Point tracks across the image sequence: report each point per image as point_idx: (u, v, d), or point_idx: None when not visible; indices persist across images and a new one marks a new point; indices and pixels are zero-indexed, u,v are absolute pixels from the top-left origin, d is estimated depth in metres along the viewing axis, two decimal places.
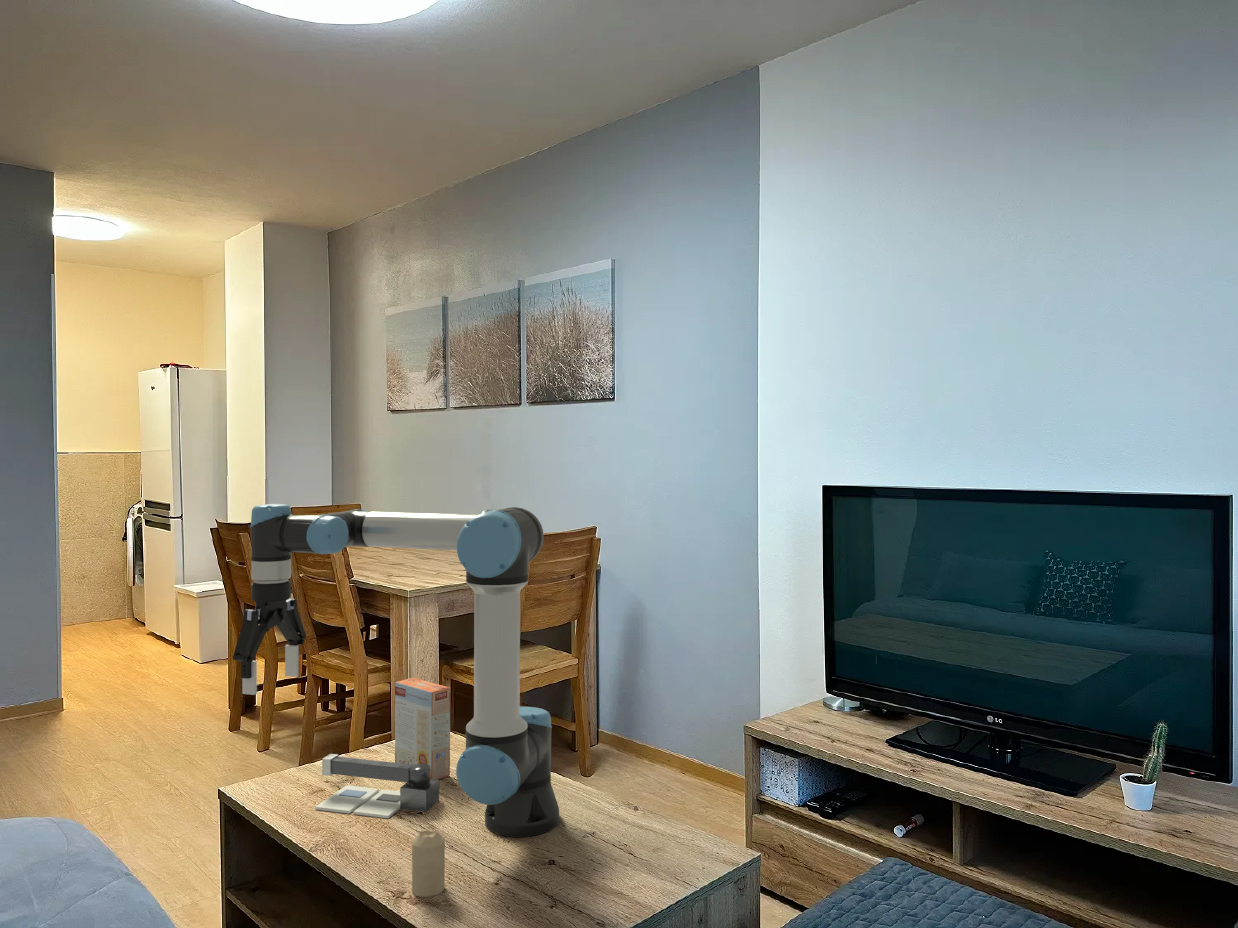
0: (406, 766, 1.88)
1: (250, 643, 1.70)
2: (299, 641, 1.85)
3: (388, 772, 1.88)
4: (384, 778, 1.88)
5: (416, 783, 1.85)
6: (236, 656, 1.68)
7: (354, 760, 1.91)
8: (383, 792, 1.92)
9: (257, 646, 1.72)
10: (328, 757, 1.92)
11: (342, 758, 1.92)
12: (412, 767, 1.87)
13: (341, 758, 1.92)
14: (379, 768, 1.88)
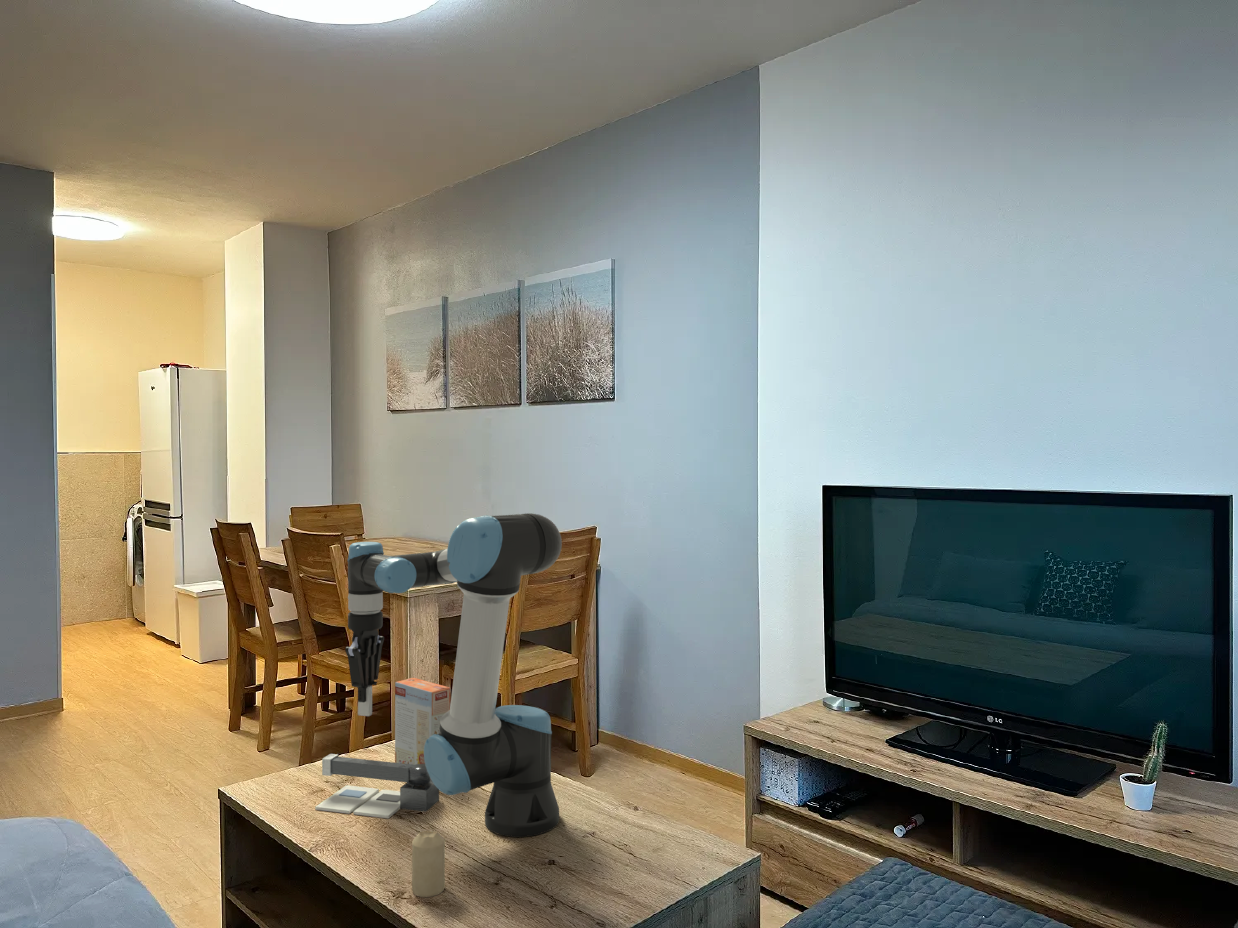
0: (406, 766, 1.88)
1: (361, 672, 1.94)
2: (373, 681, 1.99)
3: (388, 772, 1.88)
4: (384, 778, 1.88)
5: (416, 783, 1.85)
6: (354, 683, 1.95)
7: (354, 760, 1.91)
8: (383, 792, 1.92)
9: (367, 673, 1.96)
10: (328, 757, 1.92)
11: (342, 758, 1.92)
12: (412, 767, 1.87)
13: (341, 758, 1.92)
14: (379, 768, 1.88)
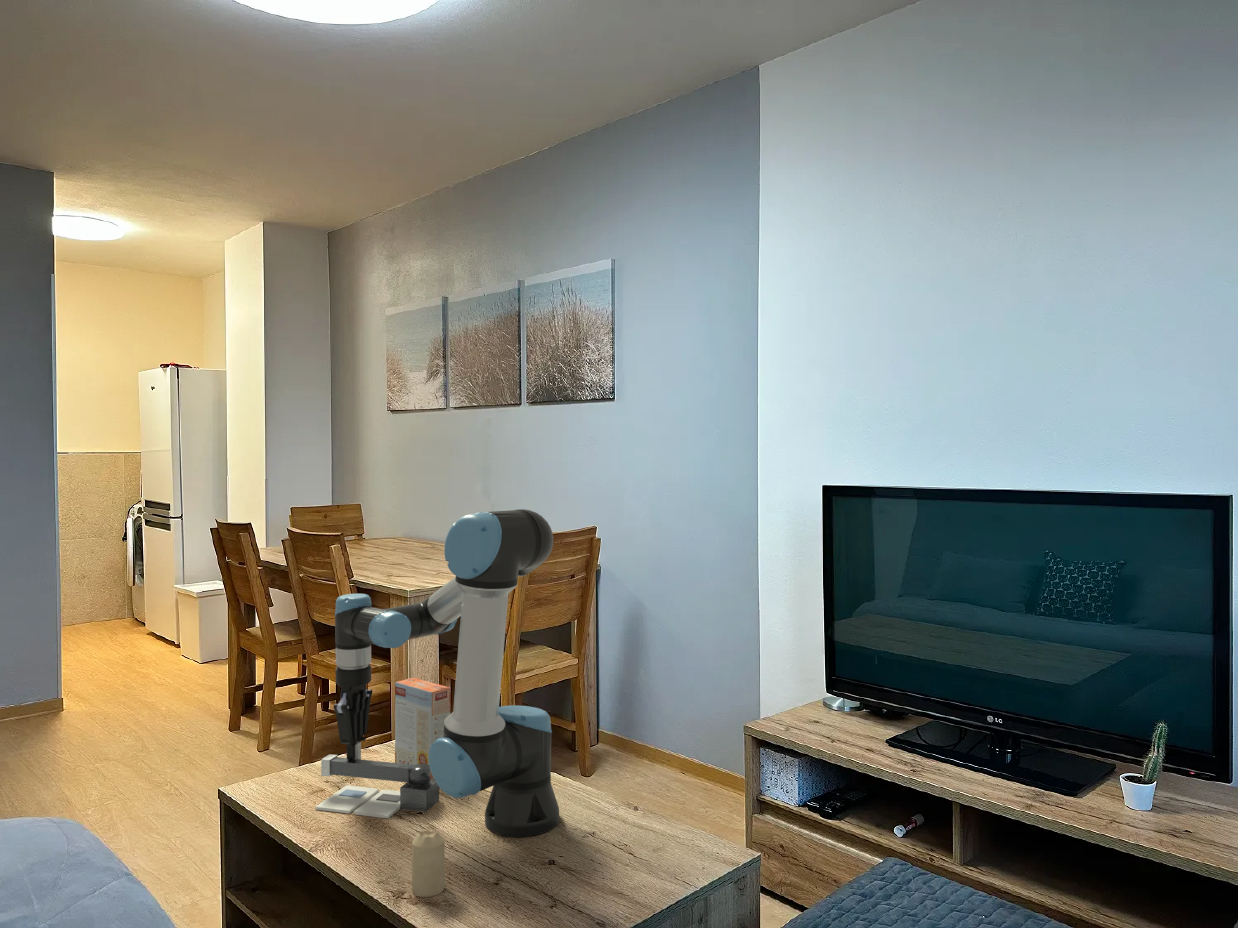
0: (406, 766, 1.87)
1: (350, 729, 1.89)
2: (361, 737, 1.94)
3: (388, 772, 1.88)
4: (384, 778, 1.88)
5: (416, 783, 1.85)
6: (343, 740, 1.89)
7: (353, 761, 1.90)
8: (383, 792, 1.92)
9: (356, 729, 1.91)
10: (327, 758, 1.91)
11: (341, 759, 1.92)
12: (412, 767, 1.87)
13: (340, 759, 1.92)
14: (379, 768, 1.88)
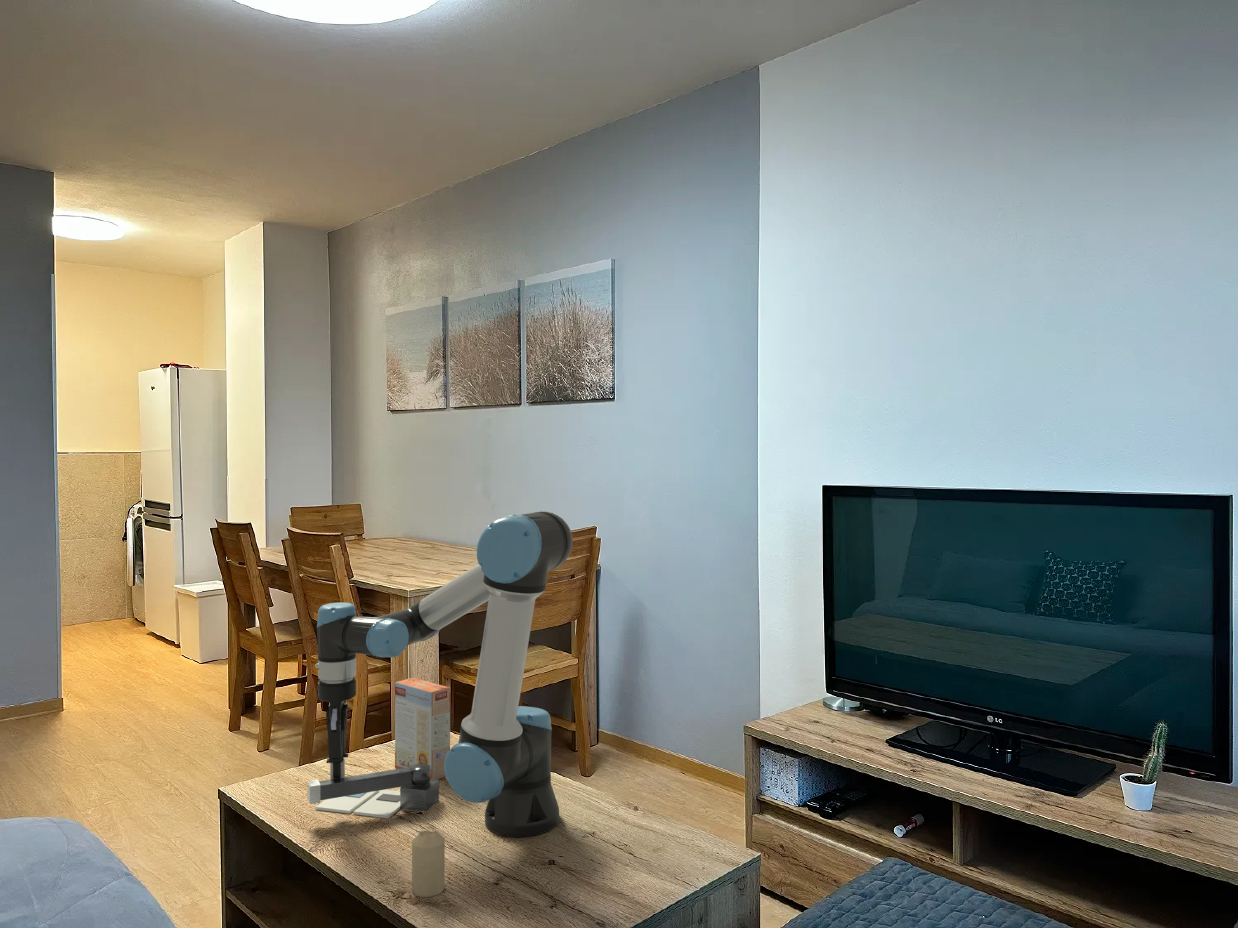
0: (406, 770, 1.86)
1: (341, 746, 1.78)
2: (344, 754, 1.83)
3: (389, 780, 1.83)
4: (384, 788, 1.83)
5: (423, 782, 1.85)
6: (333, 758, 1.78)
7: (345, 779, 1.80)
8: (383, 792, 1.92)
9: (342, 745, 1.81)
10: (313, 784, 1.77)
11: (327, 781, 1.79)
12: (413, 769, 1.86)
13: (327, 781, 1.79)
14: (379, 779, 1.82)
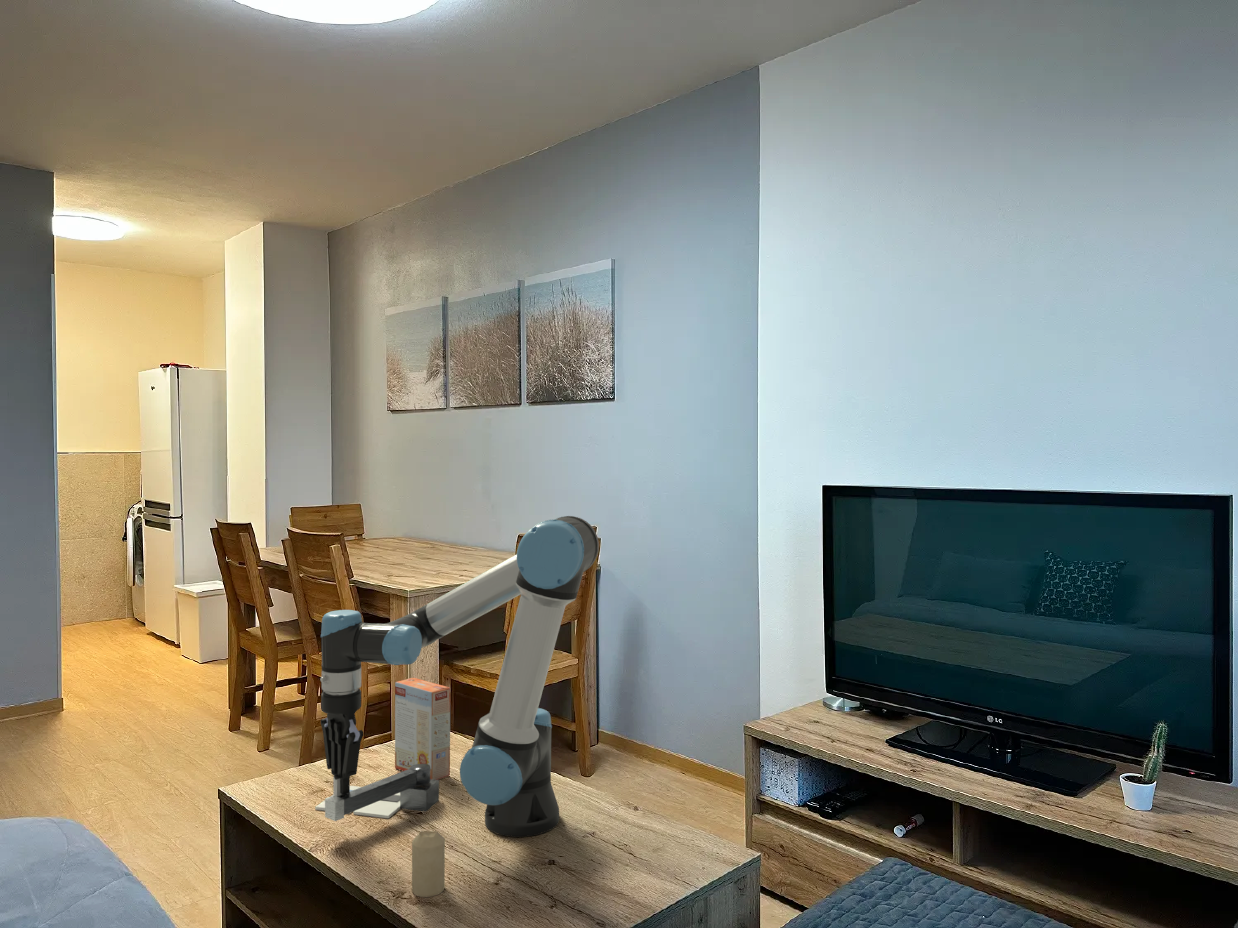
0: (410, 771, 1.85)
1: None
2: None
3: (399, 784, 1.81)
4: (395, 792, 1.80)
5: (427, 781, 1.86)
6: (348, 772, 1.71)
7: (361, 790, 1.74)
8: None
9: None
10: (336, 799, 1.69)
11: (345, 795, 1.72)
12: (415, 770, 1.86)
13: (345, 795, 1.72)
14: (390, 784, 1.79)
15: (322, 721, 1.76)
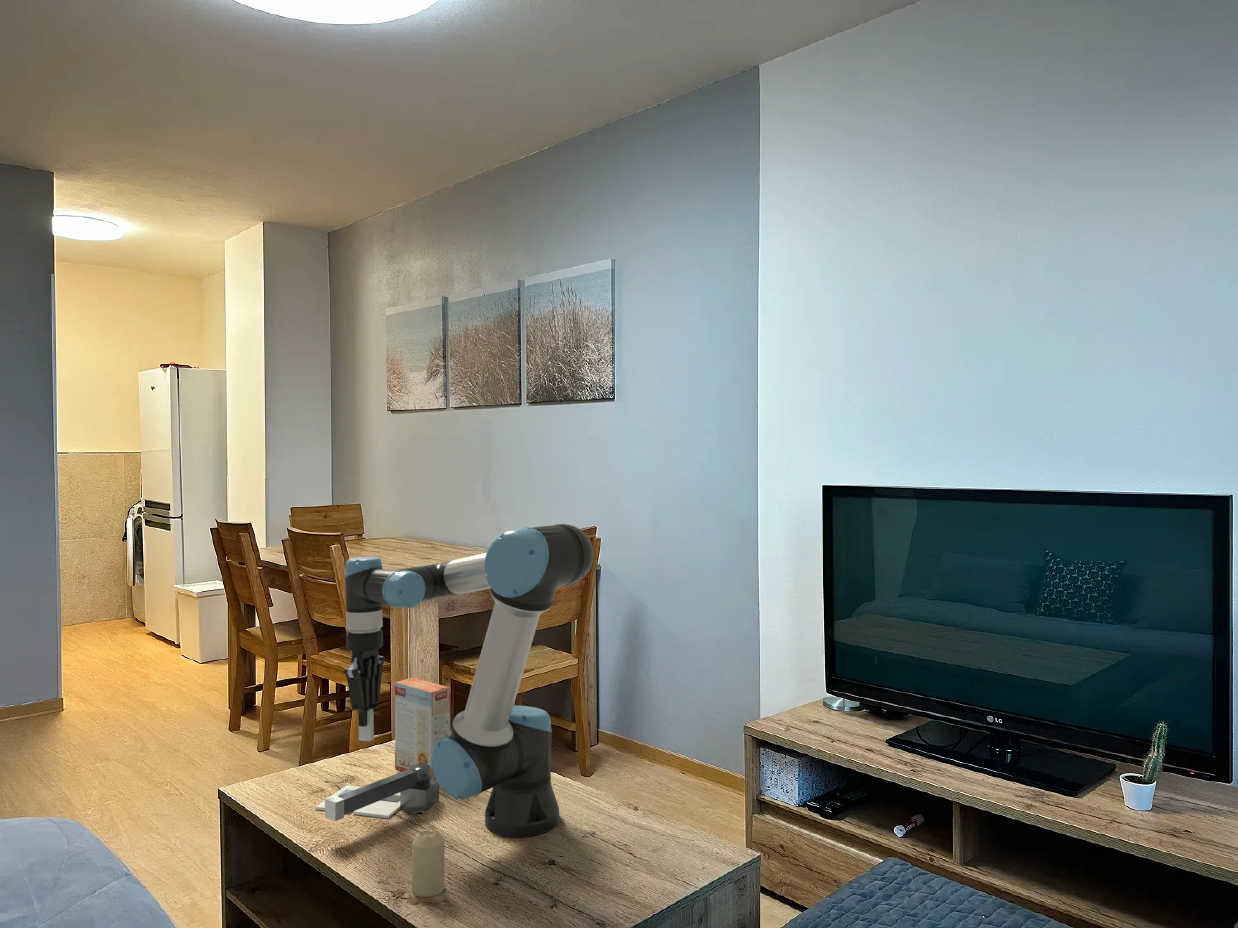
0: (410, 771, 1.85)
1: (362, 695, 1.84)
2: (374, 704, 1.88)
3: (399, 784, 1.81)
4: (395, 792, 1.80)
5: (427, 781, 1.86)
6: (355, 706, 1.84)
7: (361, 790, 1.74)
8: None
9: (367, 695, 1.86)
10: (336, 799, 1.69)
11: (345, 795, 1.72)
12: (415, 770, 1.86)
13: (345, 795, 1.72)
14: (390, 784, 1.79)
15: None
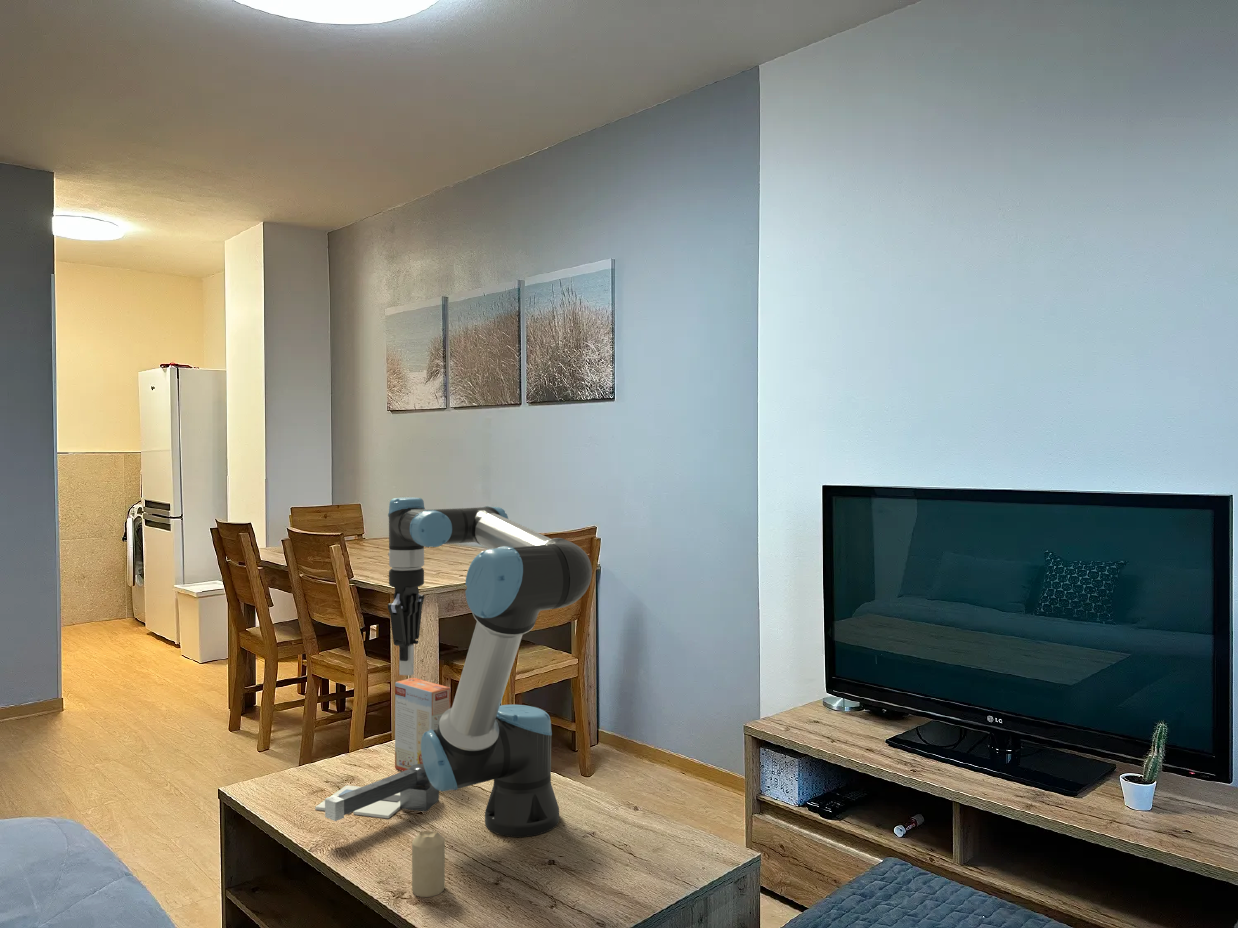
0: (410, 771, 1.85)
1: (404, 630, 1.90)
2: (414, 640, 1.94)
3: (399, 784, 1.81)
4: (395, 792, 1.80)
5: (427, 781, 1.86)
6: (396, 641, 1.90)
7: (361, 790, 1.74)
8: None
9: (409, 631, 1.92)
10: (336, 799, 1.69)
11: (345, 795, 1.72)
12: (415, 770, 1.86)
13: (345, 795, 1.72)
14: (390, 784, 1.79)
15: None
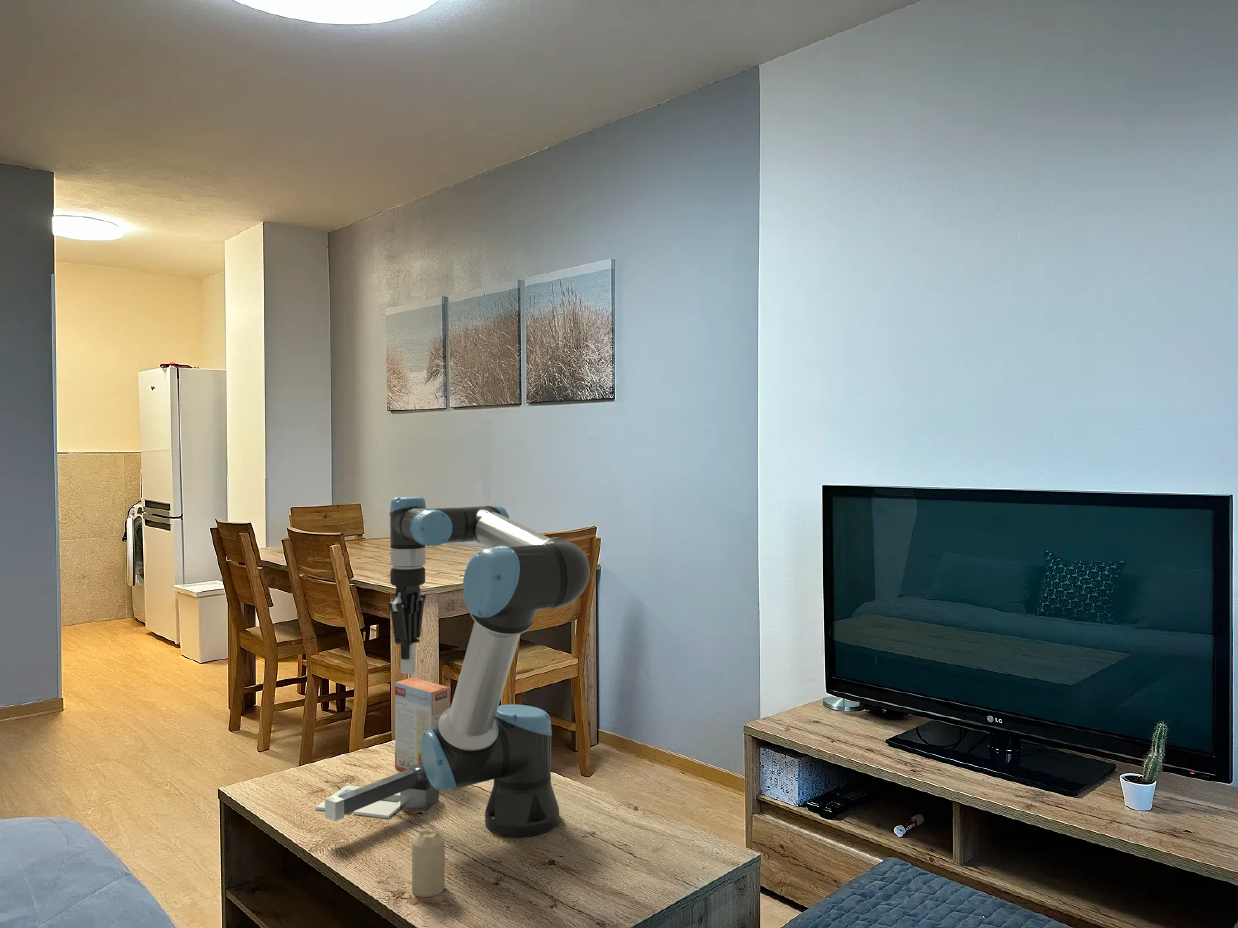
0: (410, 771, 1.85)
1: (405, 628, 1.90)
2: (415, 639, 1.95)
3: (399, 784, 1.81)
4: (395, 792, 1.80)
5: (427, 781, 1.86)
6: (398, 639, 1.90)
7: (361, 790, 1.74)
8: None
9: (410, 629, 1.92)
10: (336, 799, 1.69)
11: (345, 795, 1.72)
12: (415, 770, 1.86)
13: (345, 795, 1.72)
14: (390, 784, 1.79)
15: None
